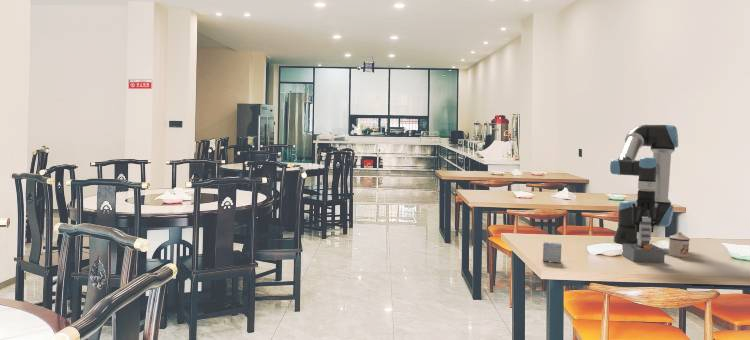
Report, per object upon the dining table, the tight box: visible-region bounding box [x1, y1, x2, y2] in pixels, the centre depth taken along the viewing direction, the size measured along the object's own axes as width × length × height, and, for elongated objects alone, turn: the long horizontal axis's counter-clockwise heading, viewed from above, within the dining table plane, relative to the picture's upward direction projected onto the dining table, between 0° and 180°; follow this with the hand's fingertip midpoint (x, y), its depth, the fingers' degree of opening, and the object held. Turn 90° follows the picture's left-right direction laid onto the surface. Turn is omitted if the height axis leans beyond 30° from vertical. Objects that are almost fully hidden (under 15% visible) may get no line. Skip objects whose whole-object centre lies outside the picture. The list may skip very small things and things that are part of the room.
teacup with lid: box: [668, 231, 690, 258], centre depth 291 cm, size 12×9×12 cm
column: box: [637, 217, 651, 248], centre depth 279 cm, size 5×4×20 cm
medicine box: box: [542, 241, 562, 264], centre depth 269 cm, size 8×4×9 cm, turn 71°
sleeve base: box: [621, 243, 666, 264], centre depth 280 cm, size 14×14×8 cm
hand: (643, 238), depth 279 cm, fingers closed on column, 4 cm apart
